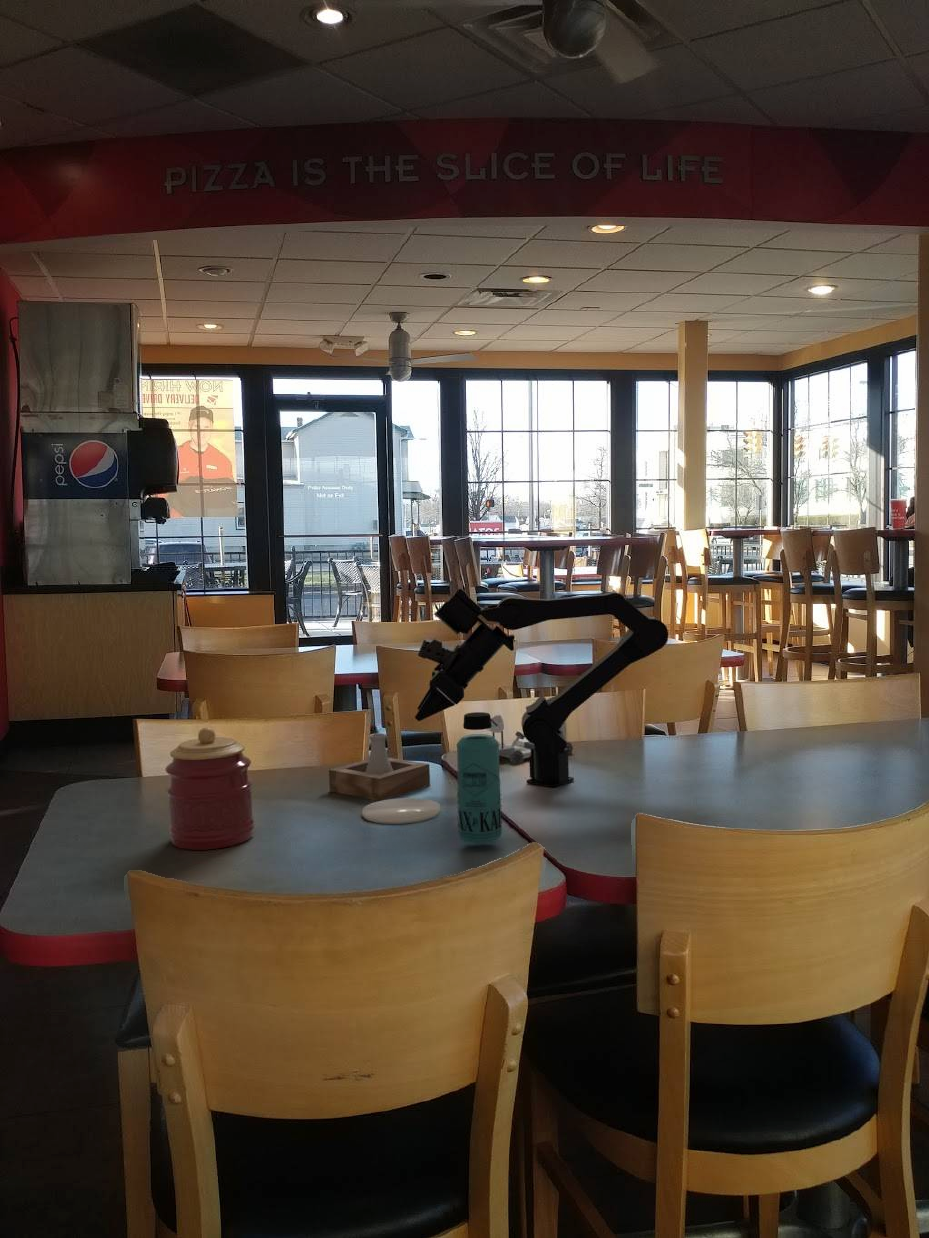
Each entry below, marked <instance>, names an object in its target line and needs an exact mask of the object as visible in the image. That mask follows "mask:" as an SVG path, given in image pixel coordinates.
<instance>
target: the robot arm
mask: <svg viewBox="0 0 929 1238" xmlns="http://www.w3.org/2000/svg"><path fill="white" fill-rule="evenodd" d="M605 615H608V616H609V615H611V616H613V617H614V618H615V619H616V620H617V621H619V622H620V623H621V624H622V625H623V626H625V627H626V628H627V630H626V632H624V634H623V635H622V637H621V638H620V640H619V641H618V643H617V644H616V646H615V647H613V649H611V650H610V651H608V652H607V653H606V654H605V655H604V656H603V657H601V659H599V660H598V661H596V662H595V664H593V665H592V666H590V667H589V668H588V669H587V670H586V671H585V672H584V673H582V674H581V675H580V676H579V677H577V678H576V679H575V680H574V681H573V682H571V683H570V684H569V685H567V686H566V687H565V688H564V689H562V690H561V691H559V693H558V694H556V695H555V696H553V697H550V698H548V699H547V698H546V697H545V695H544V694H541V695H539V697H537V699H536V700H535V702H533V703H532V704H530V705H526V706H525V710H526V711H525V712H524V713H523V715H522V717H521V721H520V723H521V729H522V734H523V735H524V736H525V738H526V739H527V740H528V741H529V742H531V743H533V744H534V746H535V747H534V748H531V755H530V756H529V758H528V759H529V760H528V761H529V762H528V763H529V764H528V765H529V777H530V778H528V779H526V782H525V783H526V784H533V785H537V786H544V787H549V788H556V787H559V786H562V785H564V784H567V783H570V782H573V781H574V780H575V777H574V776H573V777H572V776H570V774H569V773H570V771H569V769H570V768H569V754H568V749H565V747H566V744H567V743H566V740H565V738H564V735H563V733H562V732H561V731H560V730H559V729H560V728H561V726H562V725H563V724H564V722H567V720H568V718H569V717H570V715H571V714H572V713H573V712H574V711H575V710H576V709H578V707H580V706H582V704H584V703H585V702H586V701H588V699H590V698H591V697H592V696H593V695H595V694H596V693H597V692H598V691H599V690H601V689H602V688H603V687H604V686H606V685H607V684H608V683H609V682H611V681H612V680H613V679H614V678H615V677H616V676H618V675H619V674H620V673H622V672H623V671H625V669H626V668H628V666H630V665H631V664H633V663H635V662H638V661H641V660H643V659H645V658H647V657H648V656H650V655H653V654H654V653H655V652H658V651H659V650H661V649H663V648H664V647H665V645H666V644H667V643H668V641H669V629H668V627H667V626H666V624H665V623H664V622H662V620H660V619H657V618H656V617H653V616H649V615H648V616H647V615H646V614H644V613H643V612H642V611H640V610H639V609H637V608H636V607H635V606H634V605H633V604H631V603H630V602H629V601H628V600H626V598H625V597H624V595H622V594H620V593H619V592H617V591H610V592H607V593H601V594H600V593H599V594H587V595H579V596H567V597H566V596H565V597H556V598H555V597H554V598H546V599H545V598H537V597H536V598H535V597H528V596H527V597H526V596H525V597H524V596H515V595H514V596H513V595H511V596H505V597H503V598H501V599H500V601H499V602H498V603H496V604H493V605H492V604H491V605H487V604H486V605H485V606H480V604H478V603H476V601H474V600H473V599H472V598H471V597H470V596H469V595H468V593H467V592H466V591H465V590H464V589H463V588H462V587H460V588H458V589H457V590H456V591H455V593H454V594H453V595H452V596H451V597H450V598H449V599H448V598H447V599H446V601H444V602H443V604H442V605H441V606H440V607H439V608H438V610H436V612H435V613H434V616H436V617H437V618H438V619H439V620H440V621H441V622H442V623H443V624H444V625H445V626H446V627H448V629H449V630H451V631H452V632H453V633H454V634H455V635H456V636H458V635H459V634H460V633H461V634H463V635H467V634H468V633H469V632H470V631H471V630H472V629H473V628H474V627H475V626H476V624H478V623H479V625H477V627H476V628H475V629H474V630H473V631H472V632H471V634H470V635H469V636H467V638H466V639H465V640H464V641H463V642H462V643H461V644H457V645H456V646H455V647H454V648H452V647H450V646H448V645H445V644H443V641H442V640H441V641H439V640H437V639H436V638H434V639H430V638H428V637H424V638H423V641H422V644H421V646H420V648H419V651H418V653H417V657H420V658H422V659H424V660H425V659H427V660H430V661H432V662H435V663H437V664H436V665H435V666H434V668H433V670H432V672H431V679H430V680H429V684H428V685H429V688H428V690H427V692H425V693H426V694H425V695H424V697H423V698H422V700H421V701H420V703H419V704H418V706H417V710H418V711H417V713H416V714H415V716H414V718H415V720H417V721H418V722H421V721H422V720H425V719H427V718H429V717H432V716H433V715H436V714H438V713H440V712H443V711H445V710H447V709H449V708H451V707H454V706H456V705H458V704H459V703H460V702H461V701H463V699H464V698H465V690H466V689H467V687H468V686H469V683H470V682H471V681H472V680H473V679H474V678H475V677H476V675H478V673H481V672H482V671H483V670H484V669H485V666H486V664H487V663H489V661H490V660H491V659H492V658H493V657H494V656H495V655H496V654H497V653H498V651H500V650H501V648H502V647H503V646H505V647H506V648H507V649H508V650H510V652H513V651H514V650H515V647H514V646H515V645H514V641H515V634H507V633H506V632H505V631H504V630H502V629H501V628H500V627H499V626H498V625H494V626H493V627H491V626H490V625H489V624H488V623H487V622H493V623H498V624H499V625H500V626H501V627H502V628H503V629H505V630H508V631H516V630H520V629H523V628H527V627H530V626H534V625H537V624H541V623H542V622H546V621H551V620H562V619H575V618H587V617H595V616H596V617H597V616H605ZM480 616H481V617H480ZM482 618H484V619H485V621H487V622H485V621H484V620H483V619H482Z"/></svg>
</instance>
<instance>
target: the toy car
mask: <svg viewBox="0 0 929 1238" xmlns="http://www.w3.org/2000/svg"><path fill="white" fill-rule="evenodd" d="M491 724H492V727H491V728H489V729H486V730H487V731H489V732H490V733H492V737H494V738H495V737H496V736H495V733H498V734H499V733H500V739H501V741H500V742H499V757H504V758H507V759H509V763H510V764H513V765H516V764H522V763H523V761H524V759H527V758H528V759H529V756H530V755H531V748H534V747H535V746H534V744H533V743H531V742H529V741H528V740H527V739H526V738H525V736H524V734H523V732H520V731H516V732H515V736H516V738H514V739H513V740H512V741H513V742H510V743H505V744H504V729H505V724H504V719H503V717H502V715H501V714H496V715H494V716H493V717H492V718H491ZM559 730H560V731H561V732H562V733H563V735H564V738H565V740H566V743H567V744H566V747H565V749H568V755H570V754H572V753H573V749H574V747H573V744H572V743H571V742H569V741H567V740H568V739H567V737H568V736H567V721H565V722H564V724H563V725H562V726H561V728H560V729H559ZM495 739H496V738H495Z"/></svg>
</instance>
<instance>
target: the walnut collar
mask: <svg viewBox="0 0 929 1238" xmlns="http://www.w3.org/2000/svg"><path fill="white" fill-rule="evenodd" d="M388 758H389V761H390V764H391V767H392V769H393V771H391V772H388V773H384V774H381V775H377V774H371V773H366V769H367V766H368V762H369V758H368V759H364V760H360V761H356V762H353V763H349V764H345V765H342V766H338V767H334V768H331V769H330V768H329V769H328V783H329V792H331V793H338V794H343V795H348V796H352V797H358V798H364V799H367V800H373V801H376V802H378V801H383V800H389V799H393V798H394V797H395V798H396V797H398V796H401V795H404V794H407V793H410V792H414V791H417V790H420V789H423V788H427V787H431V777H430V776H431V772H430V771H431V770H430V764H429V763H423V762H418V761H414V760H413V761H412V760H406V759H400V758H399V759H398V758H391V757H388Z"/></svg>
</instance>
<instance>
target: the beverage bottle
mask: <svg viewBox="0 0 929 1238" xmlns="http://www.w3.org/2000/svg"><path fill="white" fill-rule="evenodd" d="M462 727H463V729H464V730H470V731H480V730H487V729H489V728H491V727H492V724H491V714H490V713H489V712H482V711H481V712H480V711H478V712H477V711H476V712H474V711H473V712H469V713H468V712H467V713H465V714H464V716H463V724H462ZM499 743H500V742H499V741H498V740H497V739H496V738H494V737H493V735H491V734H489V733H471V734H466V735H463V736H462V737H461V738H460V739H459V740H458V742H457V743H456V750H457V751H456V754H457V755H456V756H457V758H456V759H457V775H456V782H457V788H456V796H457V805H458V806H457V807H456V808H457V811H458V826H457V829H458V835H459V837H460V838H459V839H460V840H461V841H462V842H466V843H471V844H483V843H484V844H485V843H492V842H494V841H497V840H499V839H500V838H501V835H502V833H503V832H502V831H503V829H502V827H503V821H502V818H503V816H502V815H503V814H502V813H503V812H502V804H501V803H502V798H501V795H502V792H501V791H502V789H501V785H502V783H501V779H500V778H501V777H500V775H501V774H500V755H499Z"/></svg>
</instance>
